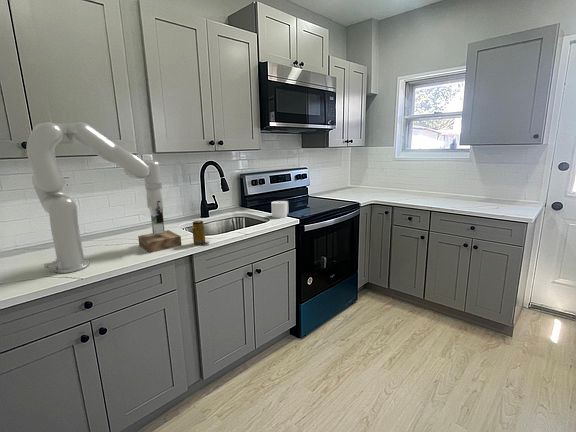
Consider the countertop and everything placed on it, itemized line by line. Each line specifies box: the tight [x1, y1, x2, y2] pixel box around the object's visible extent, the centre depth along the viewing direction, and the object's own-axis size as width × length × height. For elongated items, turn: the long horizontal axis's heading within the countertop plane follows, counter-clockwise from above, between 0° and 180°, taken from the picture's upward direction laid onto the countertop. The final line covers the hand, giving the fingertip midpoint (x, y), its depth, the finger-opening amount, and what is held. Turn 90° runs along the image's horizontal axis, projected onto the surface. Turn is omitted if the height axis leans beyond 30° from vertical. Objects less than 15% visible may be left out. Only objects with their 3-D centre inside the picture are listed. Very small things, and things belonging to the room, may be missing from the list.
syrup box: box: [149, 207, 166, 235], centre depth 162 cm, size 6×6×14 cm
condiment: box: [191, 220, 211, 247], centre depth 166 cm, size 7×8×12 cm
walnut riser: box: [137, 229, 182, 254], centre depth 165 cm, size 16×16×5 cm
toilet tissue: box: [271, 200, 289, 219], centre depth 224 cm, size 11×12×10 cm
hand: (157, 221), depth 162 cm, fingers closed on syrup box, 7 cm apart
